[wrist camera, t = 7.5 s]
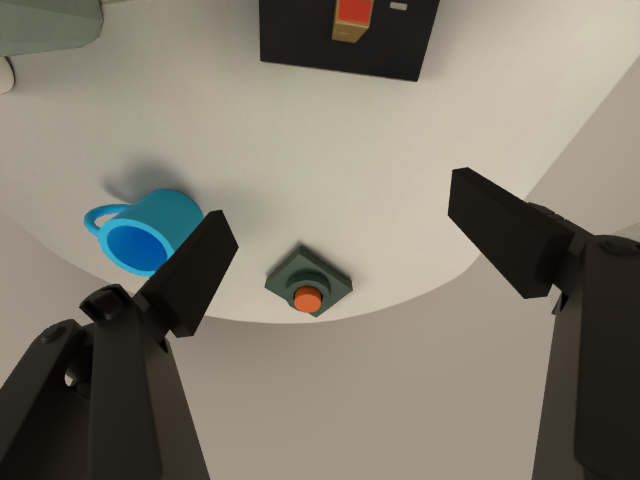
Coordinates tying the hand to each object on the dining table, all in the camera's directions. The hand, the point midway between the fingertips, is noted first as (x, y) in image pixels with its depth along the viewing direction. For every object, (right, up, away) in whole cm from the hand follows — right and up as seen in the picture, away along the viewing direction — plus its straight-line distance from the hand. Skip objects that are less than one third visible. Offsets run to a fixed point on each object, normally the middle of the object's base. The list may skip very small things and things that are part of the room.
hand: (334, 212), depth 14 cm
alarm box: (-3, -8, +27) cm, 28 cm away
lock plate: (+2, +20, +8) cm, 21 cm away
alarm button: (-3, -10, +24) cm, 26 cm away
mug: (-23, +2, +20) cm, 31 cm away
